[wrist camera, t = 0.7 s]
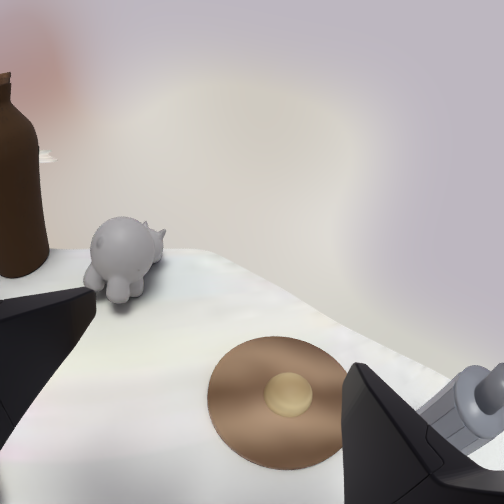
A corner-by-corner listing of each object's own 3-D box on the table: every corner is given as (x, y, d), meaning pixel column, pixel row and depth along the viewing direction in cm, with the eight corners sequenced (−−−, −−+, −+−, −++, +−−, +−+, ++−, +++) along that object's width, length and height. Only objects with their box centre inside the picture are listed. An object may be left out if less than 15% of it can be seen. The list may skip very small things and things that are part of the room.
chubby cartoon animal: (176, 286, 37) (193, 225, 35) (117, 315, 26) (132, 232, 24) (135, 265, 38) (149, 207, 37) (72, 284, 27) (83, 209, 25)
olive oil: (20, 292, 26) (-18, 76, 12) (-19, 268, 26) (-51, 91, 12) (67, 245, 35) (56, 63, 21) (24, 230, 35) (10, 73, 21)
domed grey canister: (442, 465, 17) (539, 397, 10) (395, 491, 16) (508, 432, 8) (421, 416, 23) (504, 338, 15) (374, 435, 21) (466, 354, 14)
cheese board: (365, 452, 21) (390, 437, 18) (216, 482, 17) (221, 474, 15) (324, 344, 32) (338, 319, 29) (201, 350, 28) (203, 323, 26)
